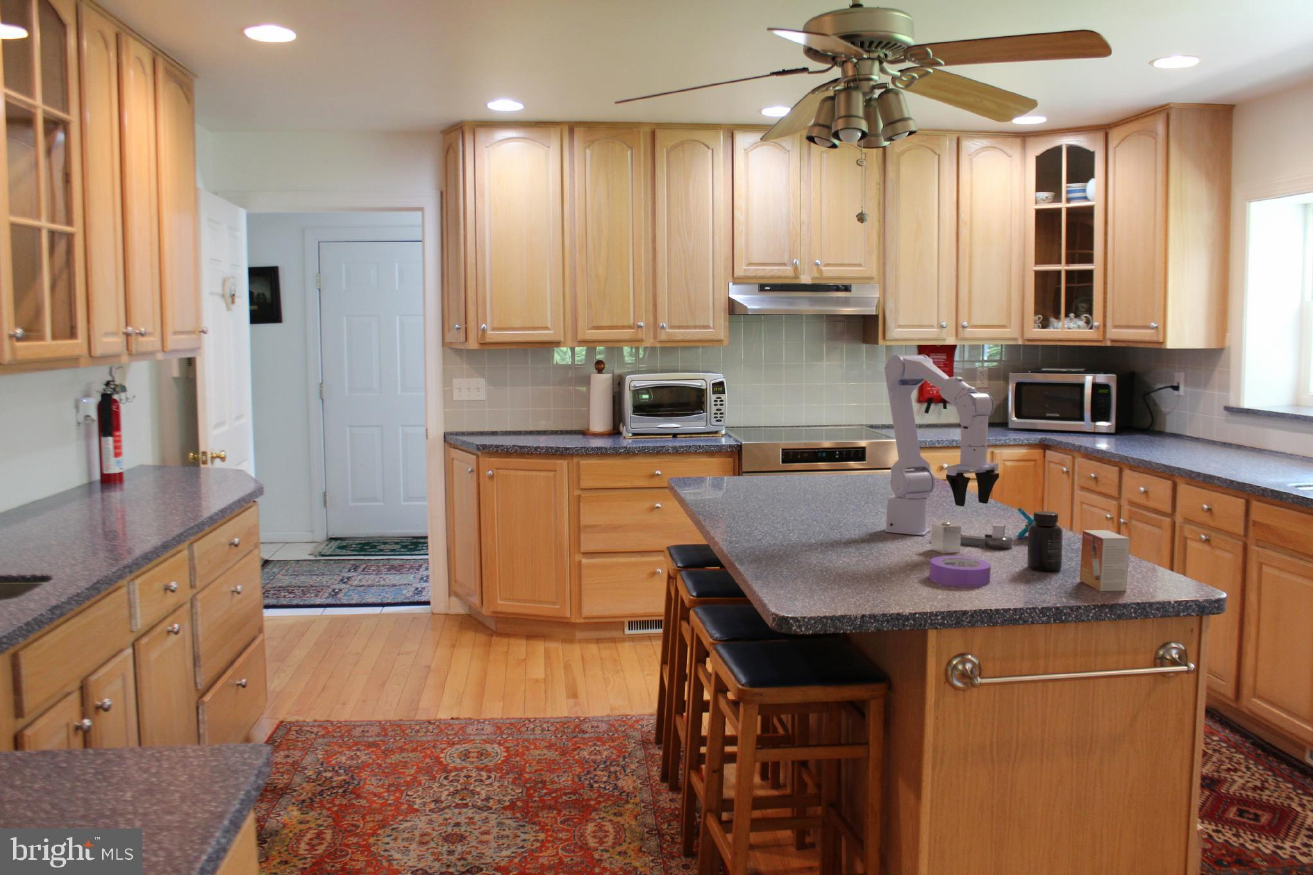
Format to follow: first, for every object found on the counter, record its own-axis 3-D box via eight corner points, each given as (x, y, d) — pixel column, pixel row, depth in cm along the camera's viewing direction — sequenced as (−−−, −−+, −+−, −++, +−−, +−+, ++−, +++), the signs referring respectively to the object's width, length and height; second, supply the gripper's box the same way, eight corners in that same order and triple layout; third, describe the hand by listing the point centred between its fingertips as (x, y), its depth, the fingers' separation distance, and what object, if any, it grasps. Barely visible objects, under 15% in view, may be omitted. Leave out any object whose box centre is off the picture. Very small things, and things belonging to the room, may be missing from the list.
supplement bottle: (1060, 566, 215) (1063, 511, 214) (1062, 573, 208) (1065, 516, 207) (1026, 564, 217) (1028, 509, 216) (1026, 571, 211) (1029, 514, 209)
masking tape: (1002, 585, 199) (1003, 566, 199) (950, 589, 196) (951, 570, 196) (968, 572, 210) (968, 554, 210) (918, 575, 207) (919, 557, 207)
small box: (1079, 581, 202) (1081, 529, 201) (1105, 580, 203) (1108, 529, 202) (1099, 591, 194) (1102, 537, 193) (1127, 591, 195) (1130, 537, 194)
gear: (1054, 537, 237) (1023, 506, 239) (1034, 554, 238) (1004, 522, 240) (1050, 535, 247) (1020, 504, 250) (1031, 551, 249) (1001, 520, 251)
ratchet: (932, 543, 238) (932, 521, 238) (937, 538, 243) (938, 517, 243) (1009, 550, 230) (1010, 528, 230) (1013, 545, 235) (1014, 523, 235)
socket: (942, 553, 227) (943, 525, 226) (930, 549, 231) (931, 521, 231) (960, 552, 228) (961, 524, 228) (948, 548, 233) (949, 520, 232)
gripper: (964, 449, 223) (962, 509, 224) (1009, 445, 230) (1007, 504, 231) (940, 445, 229) (938, 504, 230) (985, 442, 236) (983, 499, 237)
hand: (971, 504), depth 231 cm, fingers open, 7 cm apart
